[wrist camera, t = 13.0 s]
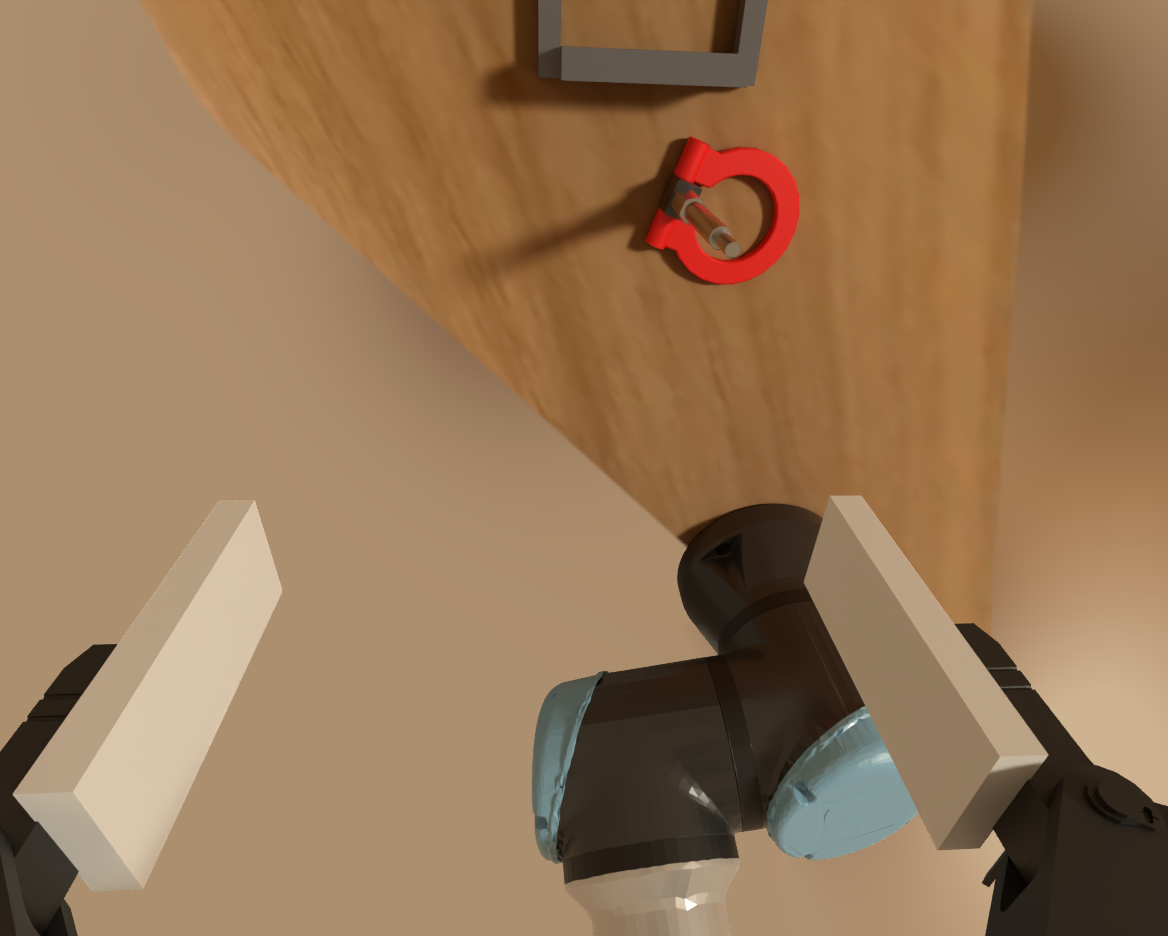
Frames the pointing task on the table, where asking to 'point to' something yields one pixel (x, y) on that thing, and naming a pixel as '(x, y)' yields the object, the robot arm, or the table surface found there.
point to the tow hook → (689, 213)
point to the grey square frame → (652, 56)
